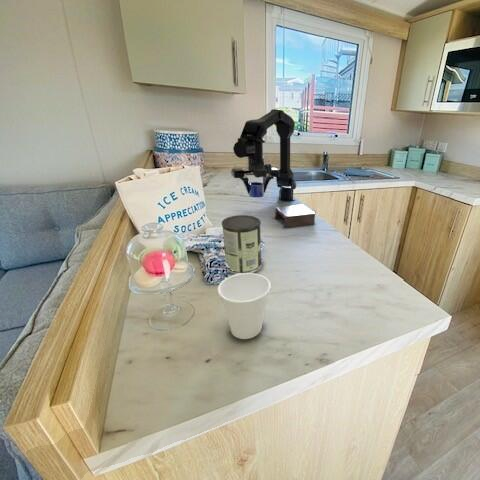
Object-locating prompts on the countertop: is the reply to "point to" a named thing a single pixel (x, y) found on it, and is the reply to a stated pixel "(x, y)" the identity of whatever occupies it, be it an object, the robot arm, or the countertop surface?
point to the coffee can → (242, 243)
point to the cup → (244, 302)
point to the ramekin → (256, 189)
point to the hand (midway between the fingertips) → (256, 193)
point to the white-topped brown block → (295, 215)
